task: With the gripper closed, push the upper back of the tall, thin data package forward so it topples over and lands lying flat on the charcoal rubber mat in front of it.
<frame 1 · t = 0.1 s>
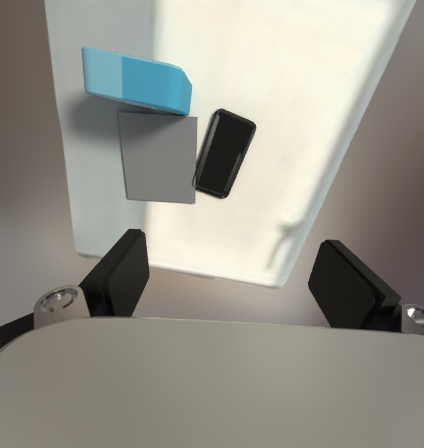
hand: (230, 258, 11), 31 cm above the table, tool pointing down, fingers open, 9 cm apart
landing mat: (160, 161, 39), on the table
phone: (222, 157, 39), on the table
data package: (157, 95, 34), on the table
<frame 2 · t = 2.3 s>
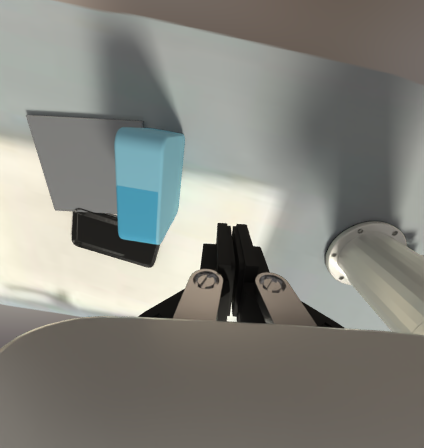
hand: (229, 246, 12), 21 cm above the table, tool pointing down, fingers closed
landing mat: (96, 169, 31), on the table
phone: (119, 236, 36), on the table
data package: (167, 173, 31), on the table
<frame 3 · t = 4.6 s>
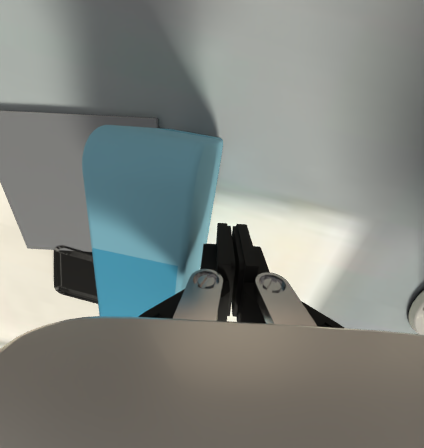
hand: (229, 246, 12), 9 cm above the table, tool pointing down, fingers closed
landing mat: (85, 191, 21), on the table
phone: (120, 279, 26), on the table
data package: (192, 197, 20), on the table
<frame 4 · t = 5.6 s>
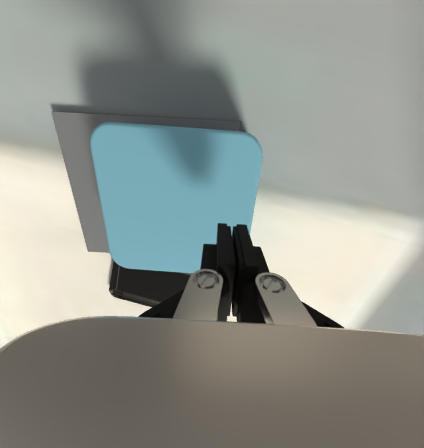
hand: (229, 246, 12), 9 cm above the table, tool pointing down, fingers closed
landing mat: (154, 194, 20), on the table
phone: (174, 282, 26), on the table
data package: (251, 207, 18), point 3 cm above the table, touching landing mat
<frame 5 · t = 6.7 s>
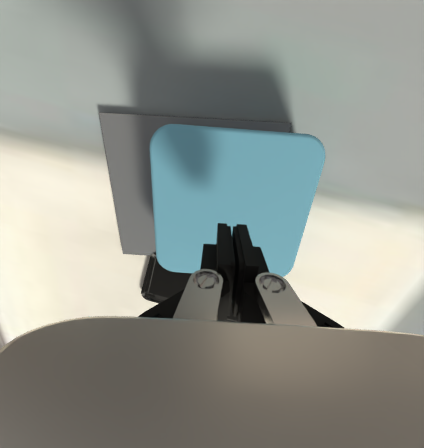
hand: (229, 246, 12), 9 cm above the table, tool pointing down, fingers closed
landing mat: (194, 196, 20), on the table
phone: (205, 285, 26), on the table
data package: (299, 210, 17), point 3 cm above the table, touching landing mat
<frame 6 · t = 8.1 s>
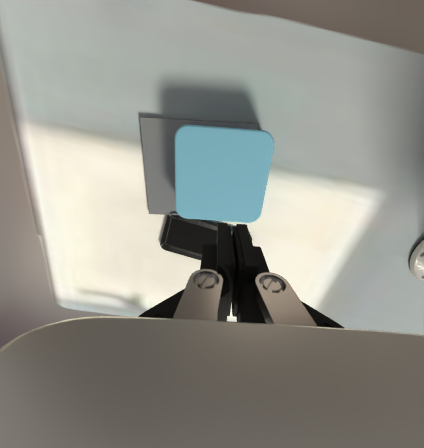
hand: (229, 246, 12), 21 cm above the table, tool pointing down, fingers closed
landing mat: (198, 172, 30), on the table
phone: (205, 239, 36), on the table
data package: (265, 178, 28), point 3 cm above the table, touching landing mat
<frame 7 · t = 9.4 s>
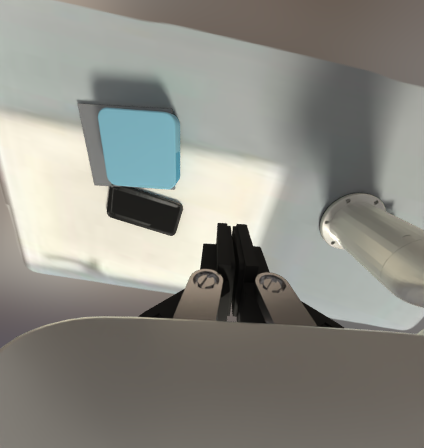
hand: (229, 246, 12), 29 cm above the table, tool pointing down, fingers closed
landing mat: (131, 149, 37), on the table
phone: (146, 209, 43), on the table
data package: (179, 153, 35), point 3 cm above the table, touching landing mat
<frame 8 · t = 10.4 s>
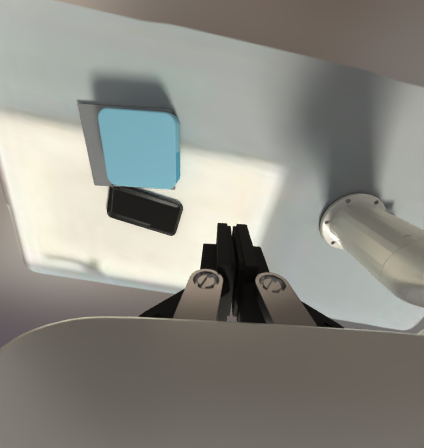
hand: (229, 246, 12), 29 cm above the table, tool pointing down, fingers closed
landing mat: (131, 149, 37), on the table
phone: (146, 209, 43), on the table
data package: (179, 153, 35), point 3 cm above the table, touching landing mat
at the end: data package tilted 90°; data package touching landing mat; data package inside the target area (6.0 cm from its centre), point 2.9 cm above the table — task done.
